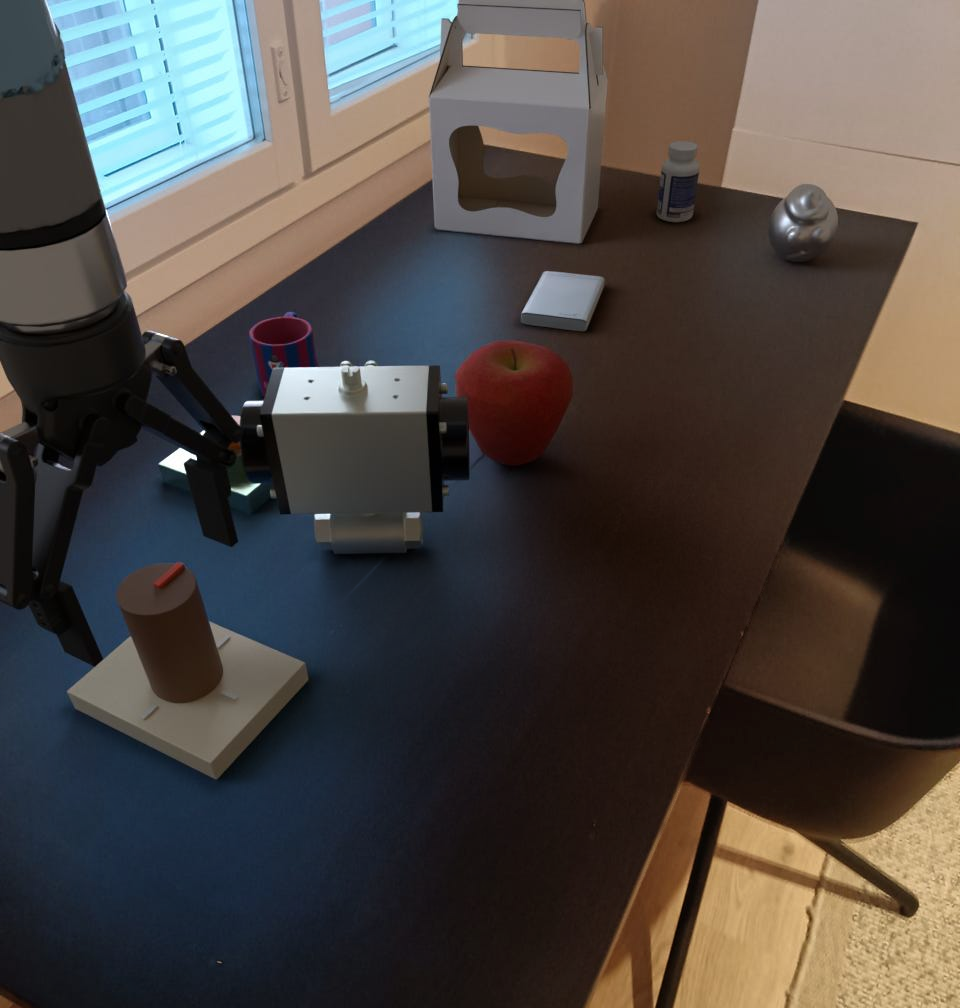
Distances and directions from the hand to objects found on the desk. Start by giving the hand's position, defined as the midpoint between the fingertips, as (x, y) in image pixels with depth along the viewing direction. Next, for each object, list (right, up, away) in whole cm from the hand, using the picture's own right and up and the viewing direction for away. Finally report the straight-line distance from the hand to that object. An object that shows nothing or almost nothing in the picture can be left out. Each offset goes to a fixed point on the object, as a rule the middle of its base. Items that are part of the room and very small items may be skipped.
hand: (157, 594), depth 65 cm
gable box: (+28, +59, +73) cm, 98 cm away
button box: (-1, +14, +28) cm, 31 cm away
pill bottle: (+51, +60, +73) cm, 107 cm away
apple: (+26, +15, +29) cm, 42 cm away
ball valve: (+13, +5, +20) cm, 24 cm away
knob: (0, -6, +6) cm, 8 cm away
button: (-2, +16, +25) cm, 30 cm away
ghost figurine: (+66, +48, +62) cm, 102 cm away
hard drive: (+33, +39, +53) cm, 74 cm away
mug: (+2, +26, +41) cm, 48 cm away
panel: (0, -7, +7) cm, 10 cm away
